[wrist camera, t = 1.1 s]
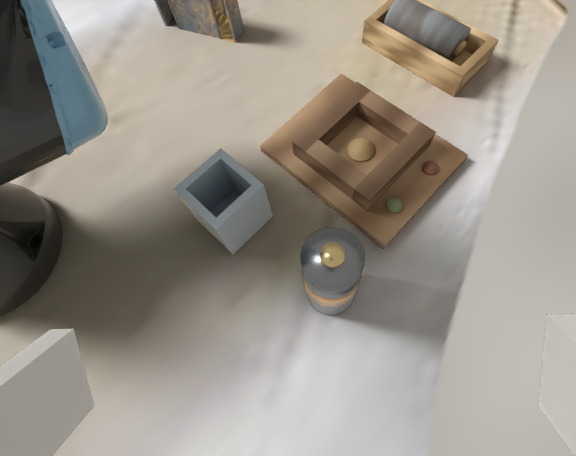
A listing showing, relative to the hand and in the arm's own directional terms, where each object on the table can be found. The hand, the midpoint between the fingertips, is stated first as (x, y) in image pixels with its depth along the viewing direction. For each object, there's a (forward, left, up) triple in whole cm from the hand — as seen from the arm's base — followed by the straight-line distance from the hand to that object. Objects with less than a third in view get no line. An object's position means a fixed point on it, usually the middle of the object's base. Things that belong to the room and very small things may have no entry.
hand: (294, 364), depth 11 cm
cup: (-17, +6, -26) cm, 32 cm away
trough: (-16, +38, -26) cm, 49 cm away
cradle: (-12, +21, -26) cm, 35 cm away
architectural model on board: (-42, +23, -26) cm, 55 cm away
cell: (-4, +7, -26) cm, 27 cm away
